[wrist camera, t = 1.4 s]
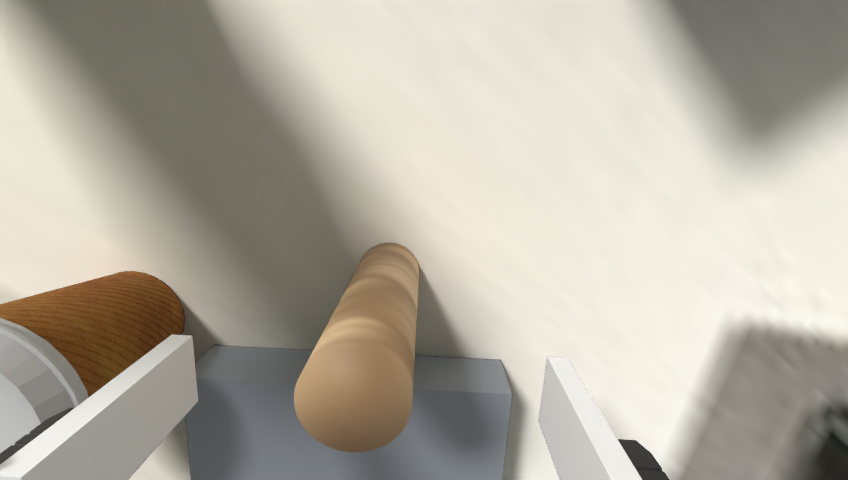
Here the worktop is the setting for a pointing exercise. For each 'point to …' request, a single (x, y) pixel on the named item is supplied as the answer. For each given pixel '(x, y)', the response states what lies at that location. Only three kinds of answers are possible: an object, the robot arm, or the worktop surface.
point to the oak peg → (364, 357)
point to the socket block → (329, 468)
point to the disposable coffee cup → (77, 344)
